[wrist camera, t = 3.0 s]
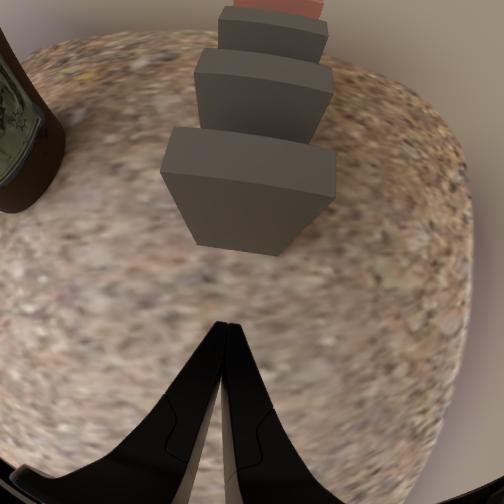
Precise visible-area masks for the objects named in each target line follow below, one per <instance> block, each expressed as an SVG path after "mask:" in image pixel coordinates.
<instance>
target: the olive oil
mask: <svg viewBox="0 0 504 504" xmlns="http://www.w3.org/2000/svg"><path fill="white" fill-rule="evenodd" d="M64 147H65V134H64V130H63V128H62V126H61V124H60V123H59V121H58V120H57V119H56V117H55V116H54V115H53V113H52V112H51V110H50V109H49V108H48V106H47V105H46V103H45V102H44V101H43V99H42V98H41V96H40V95H39V93H38V92H37V90H36V89H35V87H34V86H33V84H32V83H31V81H30V79H29V78H28V76H27V75H26V73H25V71H24V70H23V68H22V66H21V65H20V63H19V61H18V60H17V58H16V56H15V54H14V53H13V51H12V49H11V47H10V46H9V43H8V42H7V40H6V38H5V36H4V34H3V32H2V30H1V28H0V211H2V212H5V213H17V212H20V211H22V210H24V209H26V208H27V207H29V206H30V205H31V204H32V203H33V202H35V201H36V200H37V199H38V198H39V197H40V195H41V194H42V193H43V192H44V191H45V189H46V188H47V187H48V185H49V184H50V182H51V181H52V179H53V177H54V175H55V173H56V171H57V169H58V167H59V165H60V162H61V159H62V156H63V152H64Z"/></svg>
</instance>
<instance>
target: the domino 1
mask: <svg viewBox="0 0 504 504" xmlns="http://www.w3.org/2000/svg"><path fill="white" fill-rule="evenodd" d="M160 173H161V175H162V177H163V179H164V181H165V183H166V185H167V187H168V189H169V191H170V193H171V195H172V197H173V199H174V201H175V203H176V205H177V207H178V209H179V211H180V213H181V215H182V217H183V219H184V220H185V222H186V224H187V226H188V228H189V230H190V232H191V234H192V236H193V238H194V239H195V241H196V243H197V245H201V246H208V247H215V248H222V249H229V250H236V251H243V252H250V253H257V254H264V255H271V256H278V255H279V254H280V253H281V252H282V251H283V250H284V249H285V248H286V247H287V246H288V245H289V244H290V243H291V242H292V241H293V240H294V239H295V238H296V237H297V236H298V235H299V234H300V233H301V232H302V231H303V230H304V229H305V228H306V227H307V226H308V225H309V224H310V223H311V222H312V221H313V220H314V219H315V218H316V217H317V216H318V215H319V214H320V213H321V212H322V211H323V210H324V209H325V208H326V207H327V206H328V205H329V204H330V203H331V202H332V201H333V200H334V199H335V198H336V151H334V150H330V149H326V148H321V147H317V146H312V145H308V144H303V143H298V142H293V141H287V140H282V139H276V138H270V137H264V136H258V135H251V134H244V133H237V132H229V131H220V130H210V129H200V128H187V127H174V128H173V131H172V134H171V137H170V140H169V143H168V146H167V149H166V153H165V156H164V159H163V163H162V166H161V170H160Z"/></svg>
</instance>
